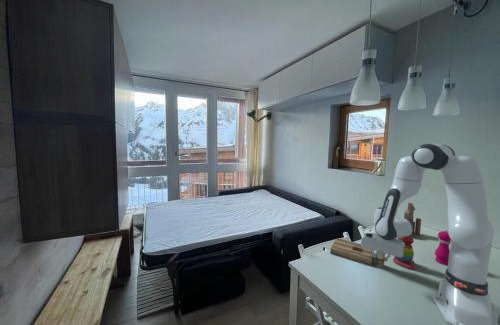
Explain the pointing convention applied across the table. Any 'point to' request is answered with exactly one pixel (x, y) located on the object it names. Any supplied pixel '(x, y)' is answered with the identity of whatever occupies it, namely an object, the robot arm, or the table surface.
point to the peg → (380, 258)
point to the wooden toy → (409, 217)
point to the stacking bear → (406, 254)
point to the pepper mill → (443, 248)
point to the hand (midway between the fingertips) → (380, 259)
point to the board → (352, 251)
